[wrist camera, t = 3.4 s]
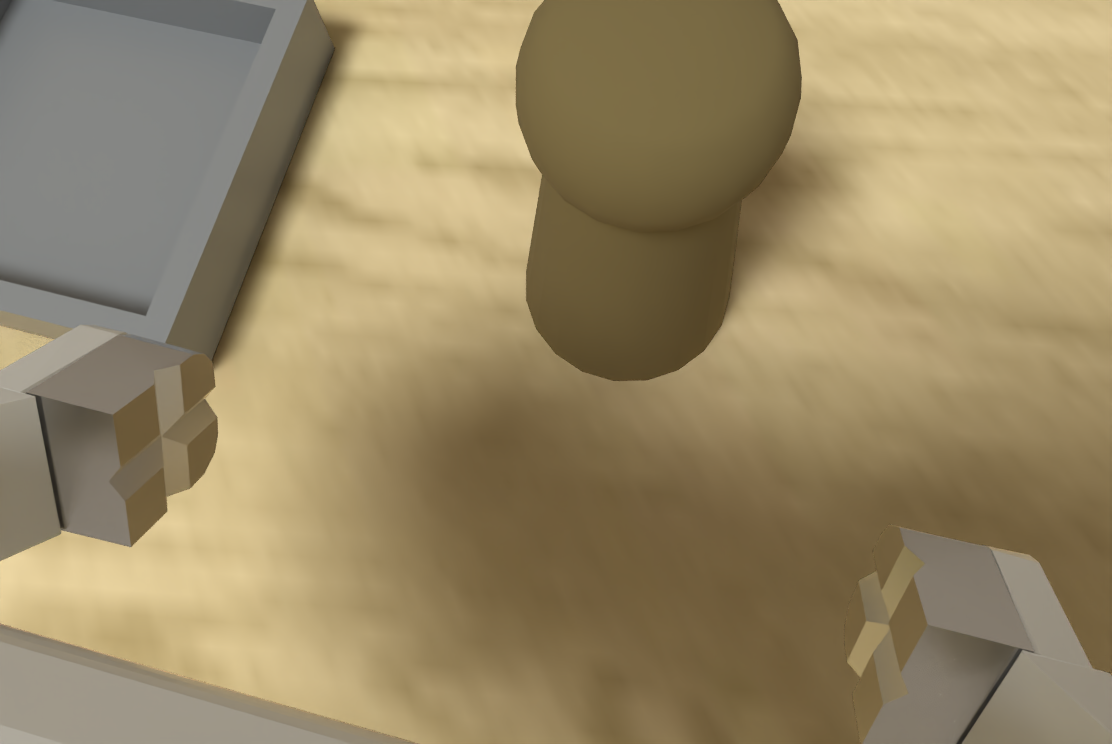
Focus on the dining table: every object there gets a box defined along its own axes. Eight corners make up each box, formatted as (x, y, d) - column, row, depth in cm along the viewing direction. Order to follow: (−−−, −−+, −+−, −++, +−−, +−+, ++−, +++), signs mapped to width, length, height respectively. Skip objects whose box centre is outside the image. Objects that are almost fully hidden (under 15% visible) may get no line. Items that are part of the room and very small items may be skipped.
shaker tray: (334, 48, 26) (310, -8, 24) (205, 377, 23) (162, 350, 21) (16, -18, 27) (-38, -78, 25) (-148, 287, 24) (-228, 253, 22)
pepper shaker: (489, 327, 23) (415, 99, 13) (580, 163, 25) (580, -164, 14) (678, 416, 23) (766, 249, 12) (761, 239, 24) (904, -49, 13)
